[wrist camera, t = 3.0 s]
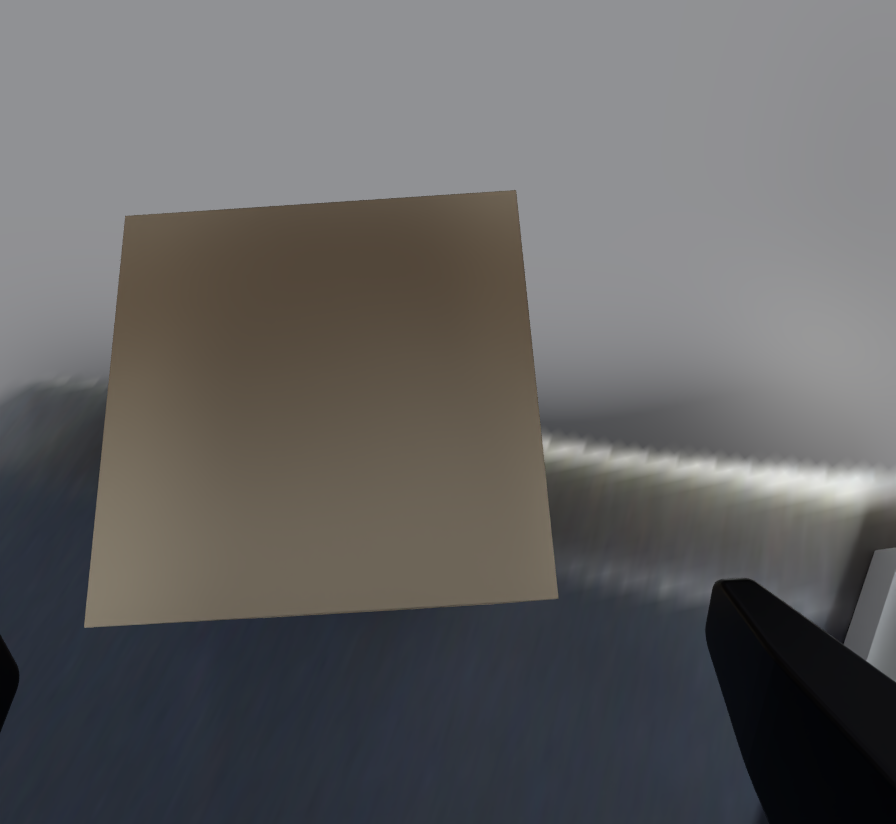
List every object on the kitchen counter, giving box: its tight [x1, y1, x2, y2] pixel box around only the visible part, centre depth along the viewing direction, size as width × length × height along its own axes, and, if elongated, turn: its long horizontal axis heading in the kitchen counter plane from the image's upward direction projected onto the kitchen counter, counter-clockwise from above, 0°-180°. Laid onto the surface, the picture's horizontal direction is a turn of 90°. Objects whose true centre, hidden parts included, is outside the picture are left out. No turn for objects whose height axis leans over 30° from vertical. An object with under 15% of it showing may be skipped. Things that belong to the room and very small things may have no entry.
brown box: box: [84, 190, 558, 628], centre depth 12 cm, size 4×4×12 cm
